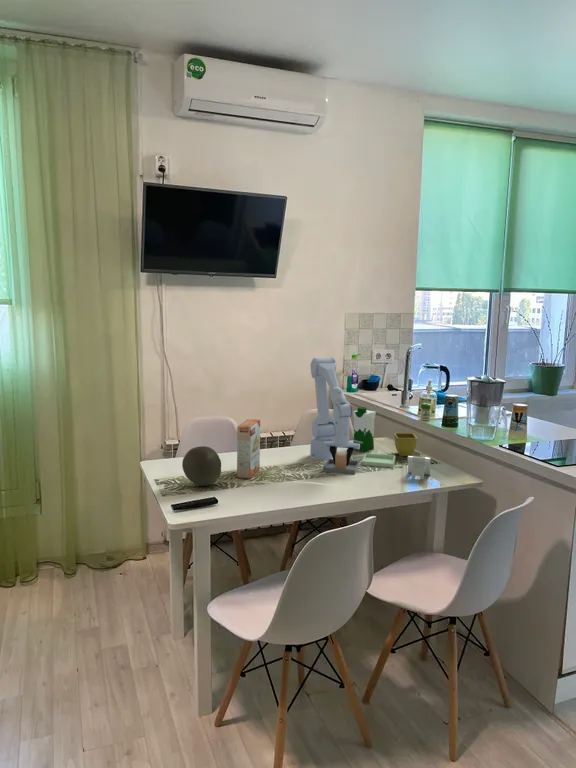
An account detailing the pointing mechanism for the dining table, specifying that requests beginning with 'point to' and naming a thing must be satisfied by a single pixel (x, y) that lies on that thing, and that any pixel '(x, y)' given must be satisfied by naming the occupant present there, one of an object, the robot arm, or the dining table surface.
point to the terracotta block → (341, 460)
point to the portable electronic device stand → (418, 466)
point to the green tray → (378, 460)
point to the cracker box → (248, 448)
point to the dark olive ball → (202, 466)
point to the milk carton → (364, 428)
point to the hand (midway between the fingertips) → (341, 464)
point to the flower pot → (405, 443)
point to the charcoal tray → (350, 469)
